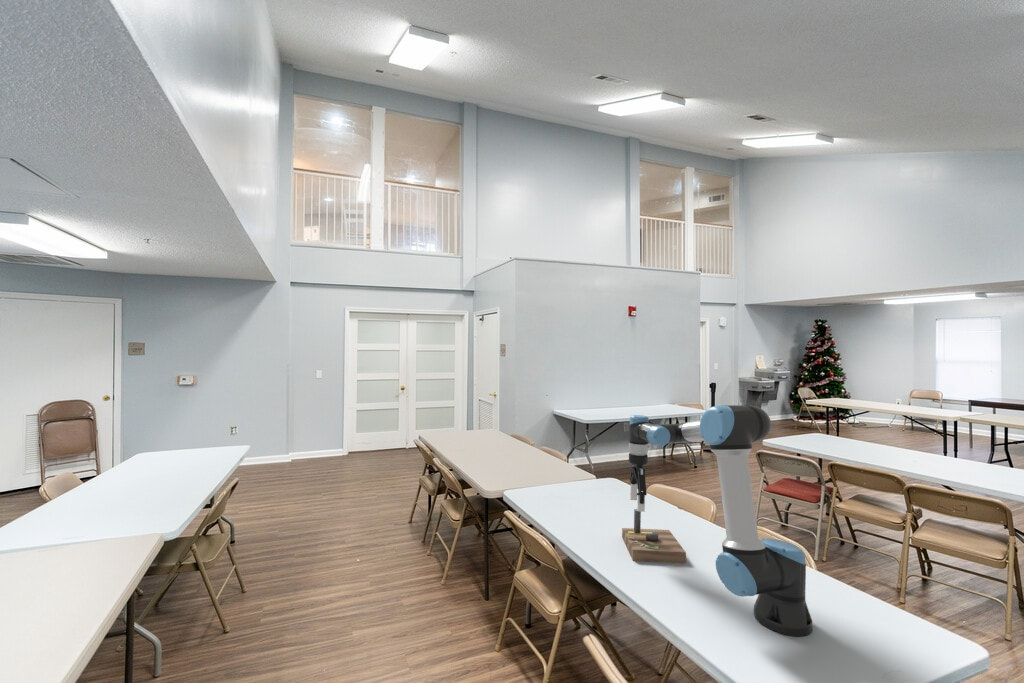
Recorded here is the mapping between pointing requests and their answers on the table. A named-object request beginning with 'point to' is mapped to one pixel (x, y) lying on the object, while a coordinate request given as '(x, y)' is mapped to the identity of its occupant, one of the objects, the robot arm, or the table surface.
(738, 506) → the robot arm
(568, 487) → the table surface
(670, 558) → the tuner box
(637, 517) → the dark grey lever
